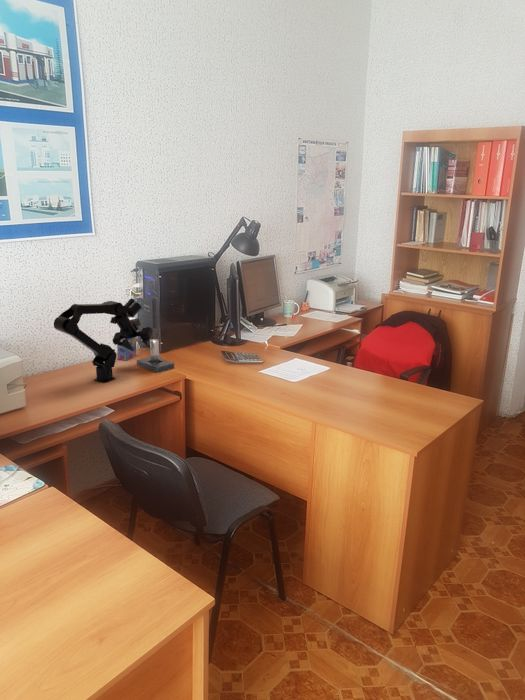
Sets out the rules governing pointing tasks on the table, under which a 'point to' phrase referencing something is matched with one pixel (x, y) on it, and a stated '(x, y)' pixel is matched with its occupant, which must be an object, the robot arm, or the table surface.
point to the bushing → (154, 351)
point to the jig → (157, 367)
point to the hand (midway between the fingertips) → (140, 348)
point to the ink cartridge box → (127, 350)
